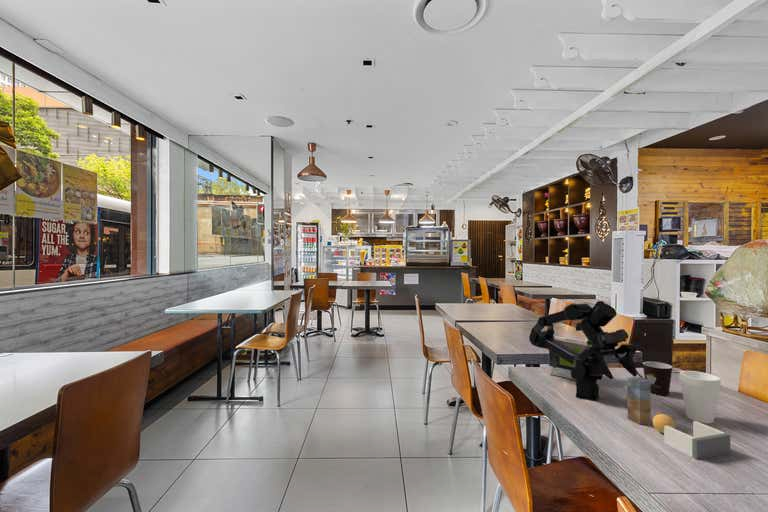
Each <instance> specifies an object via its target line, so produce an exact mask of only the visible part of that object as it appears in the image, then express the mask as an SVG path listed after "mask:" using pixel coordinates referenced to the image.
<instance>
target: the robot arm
mask: <svg viewBox="0 0 768 512" xmlns="http://www.w3.org/2000/svg"><path fill="white" fill-rule="evenodd" d="M616 316H617V310H616V309H615V308H614V307H612V306H611V305H610V304H608V303H605V302H604V300H599V301H597V302H596V303H595V304H594V306H592V307H591V306H590V305H589V304H588V303H571V304H569V305H567V306H566V307H564V309H563V310H561V311H557V312H554V313H551V314H547V315H542V316H540V317H539V318H538V320H537V322H536V323H535V325H534V326H532V328H531V329H530V330H531V331H530V333H529V338H528V339H529V342H530V344H531V345H532V346H534V347H537V348H540V349H545V350H548V352H549V351H551V352H553V353H554V354H556V355H558V356H559V357H561V358H562V359H564V360H566V361H567V362H569V363H571V364H572V365H573V366H574V369H573V370H572V371H571V376H572V378H574V379H576V380H575V383H576V384H575V387H576V388H575V391H576V393H575V398H578V399H583V400H584V399H585V400H589V401H598V398H600V384H599V383H598V380H602V379H603V377H607V378H608V379H609V380H613V379H614V376H613V374H612V371H611V370H610V369H609V367H608V365H607V363H606V362H605V360H604V357H611V356H614V357H615V358H616V359H617V362H618V363H619V364H621V366H622V367H623V368H624V369H625V370H626V371H627V372H628V373H629V374H630V375H631V376H632V377H637V376H638V374H637V373H636V370H637V368H636V369H635V366H634V365H635V363H634V355H636V352H637V351H638V348H637V347H636V346H635V344H633V343H622V342H628V341H627V339H629V334H628V332H627V331H626V329H624V328H623V329H617V330H615V331H610V332H608V331H605V330H603V328H604V327H606V326H607V325H608V324H610V322H611V321H612V320H613V319H614V318H616ZM568 321H580V322H577V323H576V326H575V331H576V332H577V331H578V332H580V331H581V332H582V333H583V334H584V336H585V338H586V339H587V340H586V341H587V344H588V345H592V347H586V348H585V349H584V350H583V351H582V352H581V353H580V354H579V353H577V352H576V351H574V350H572V349H570V348H569V347H567V346H565V345H563V344H561V343H560V342H558V341H556V340H555V336H554V335H555V330H554V326H555V325H557V324H561V323H565V322H568ZM545 327H547V330H543V329H544V328H545ZM602 327H603V328H602ZM619 343H622V344H621V345H620V344H619ZM618 346H619V347H618ZM616 347H617V348H616ZM574 379H573V380H574Z"/></svg>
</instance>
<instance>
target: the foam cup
mask: <svg viewBox="0 0 768 512" xmlns="http://www.w3.org/2000/svg"><path fill="white" fill-rule="evenodd" d="M721 380H722V379H721V377H719V376H717V375H715V374H713V373H712V374H710V373H708V372H703V371H702V372H701V371H697V370H696V371H695V370H681V371H679V382H680V385H681V390H682V391H681V392H682V397H683V403H684V410H685V415H686V417H687V418H688V419H689V420H692V421H693V422H694V421H697V422H699V423H702V424H713V423H714V421H715V416H716V411H717V406H718V405H717V404H718V399H719V392H720V388H721V387H722V386H721V384H722V383H721V382H722V381H721Z"/></svg>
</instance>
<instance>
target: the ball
mask: <svg viewBox="0 0 768 512" xmlns="http://www.w3.org/2000/svg"><path fill="white" fill-rule="evenodd" d="M652 425H653V427H654V429H655V430H657V431H658V432H660V433H661V434H664V426H669V427H672V428H674V429H676V423H675V421H674V419H673V418H671V416H669V415H667V414H665V413H658V414H656V415H654V416H653V418H652Z"/></svg>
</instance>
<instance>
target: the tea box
mask: <svg viewBox="0 0 768 512" xmlns="http://www.w3.org/2000/svg"><path fill="white" fill-rule="evenodd" d="M554 338H555V340H556V341H558V342H560V343H561V344H563V345H565V346H567V347H569V348H570V349H572V350H574V351H576V352H577V353H579V354H580V353H581V352H582V351H583V350H584V349H585V348H586V347H592V345H588V344H587V341H588V340H586V339H579V338H573V337H565V336H554ZM573 369H574V366H573V365H572V364H571V363H569V362H567V361H566V360H564V359H562V358H561V357H559V356H558V355H556V354H554V353H553V352H551V351H549V350H548V374H549V375H553V376H557V377H558V376H559V377H563V378H567V379H570V380H575V381H576V379H574V378H572V376H571V371H572V370H573Z"/></svg>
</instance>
